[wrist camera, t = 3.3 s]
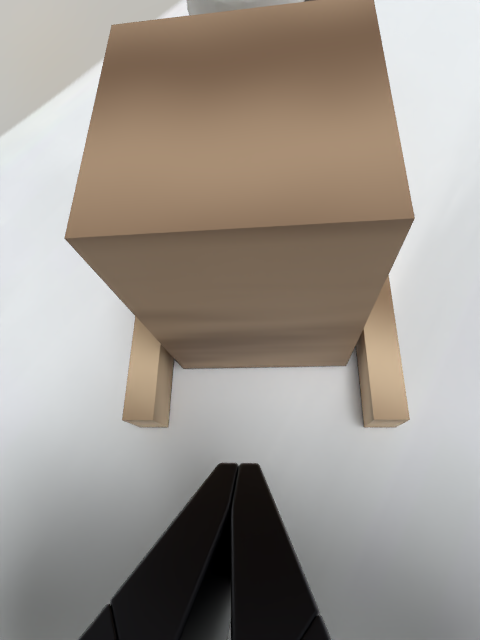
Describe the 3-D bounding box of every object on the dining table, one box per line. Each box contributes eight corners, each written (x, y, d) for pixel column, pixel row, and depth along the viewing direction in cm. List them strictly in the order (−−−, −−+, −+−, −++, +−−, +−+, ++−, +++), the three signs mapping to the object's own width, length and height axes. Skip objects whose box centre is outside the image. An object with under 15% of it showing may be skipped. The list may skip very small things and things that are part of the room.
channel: (395, 427, 16) (589, 320, 5) (140, 427, 17) (-87, 339, 7) (345, 47, 24) (384, -264, 14) (180, 65, 25) (107, -210, 15)
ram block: (345, 365, 17) (414, 218, 7) (183, 368, 17) (64, 238, 8) (333, 227, 19) (372, -7, 10) (193, 235, 20) (111, 25, 11)
